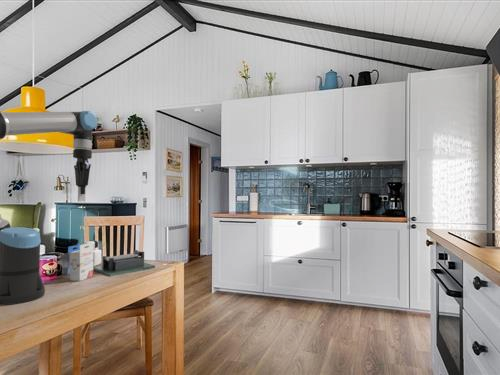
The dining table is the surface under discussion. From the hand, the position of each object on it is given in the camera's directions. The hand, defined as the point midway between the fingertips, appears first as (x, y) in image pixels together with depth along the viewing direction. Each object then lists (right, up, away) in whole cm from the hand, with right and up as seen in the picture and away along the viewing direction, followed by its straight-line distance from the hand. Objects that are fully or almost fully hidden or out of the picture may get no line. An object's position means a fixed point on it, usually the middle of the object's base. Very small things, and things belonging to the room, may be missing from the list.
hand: (81, 201), depth 148 cm
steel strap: (+16, -28, +8) cm, 33 cm away
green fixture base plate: (+16, -33, +8) cm, 38 cm away
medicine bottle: (-4, -33, +17) cm, 38 cm away
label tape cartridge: (-5, -33, +1) cm, 33 cm away
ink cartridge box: (+5, -32, -10) cm, 34 cm away
